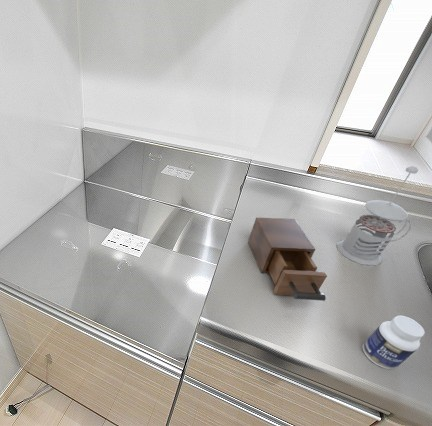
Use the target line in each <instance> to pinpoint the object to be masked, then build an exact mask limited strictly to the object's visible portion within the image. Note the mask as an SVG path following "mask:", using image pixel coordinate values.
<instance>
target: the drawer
mask: <svg viewBox="0 0 432 426" xmlns="http://www.w3.org/2000/svg"><path fill="white" fill-rule="evenodd" d="M267 269H268V271H269V273H270V274H269V275H270V277H271V279H272V282H273V284H274V286H275V287H274V289H273V293H274V295H276V296H277V295H278V296H292V297H293V298H294V299H295V300H304V301H305V300H307V301H320V302H321V301H323V302H324V301H326V295H325V293H322V292H321V291H320V289H321V287H322V285H323V284H324V282H325V280H326V278H327V277H328V275H327V274H326V272H325V271H317V270H318V266H317V265H316V263H315V262H314V260H313V258H312V257H310V255H309V254H308V252H306V251H284V250H274V252H273V254H272V256H271V259H270V261H269V264H268V266H267Z"/></svg>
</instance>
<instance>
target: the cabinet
mask: <svg viewBox="0 0 432 426" xmlns="http://www.w3.org/2000/svg"><path fill="white" fill-rule="evenodd" d="M247 243H248V246H249V248H250V250H251V253H252V255H253V257H254V260H255V263H256V264H257V267H258V269H259V271H260V274H267V275H268V274H269V275H270V273H269V271H268V269H267V266H268V264H269V261H270V259H271V256H272V254H273V252H274V250H284V251H306V252H308V254H309V255H310V257H311V258H312V257H313V255H314V253H315V252H316V248H315V247H314V245H313V243H312V242H311V240H310V239H309V238H308V236H307V235H306V233H305V232H304V230H303V229H302V227H301V226H300V225H299V223H298V221H297V220H296V219H295V218H281V217H255V220H254V223H253V225H252V228H251V232H250V235H249V238H248V240H247Z"/></svg>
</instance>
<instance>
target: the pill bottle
mask: <svg viewBox="0 0 432 426" xmlns="http://www.w3.org/2000/svg"><path fill="white" fill-rule="evenodd" d="M424 336H425V329H424V327H423V326H422V325H421V324H420V323H419V322H417V321H416V320H414V319H413V318H411V317H408V316H405V315H396V316H394V317H393V318H392V319H391V320H386V321H383V322H381V324H380V325H378V327H377V328H375V330H374V331H373V332H372V334H371V335H370V336H369V337H368V338H367V339H366V340H365V341H364V343H363V344H362V350H363V354H365V357H367V359H368V360H370V361H371V362H372V363H373V364H374V365H376V366H378V367H380V368H382V369H385V370H393V369H397V368H398V367H399V366H401V364H402V363H404V361H406V360H407V359H408V358H410V356H411V355H413V354H414V353H415V352H416V351H417V350H418V349H419V348H420V346H421V338H422V337H424Z"/></svg>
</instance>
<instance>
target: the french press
mask: <svg viewBox="0 0 432 426" xmlns="http://www.w3.org/2000/svg"><path fill="white" fill-rule="evenodd" d="M405 172H407V173H408V174H407V176H406V177H405V179H404V180H403V182H402V183H401V185H400V186H399V188H398V190H397V192H396V193H395V194H394V196H393V197H392V199H391V201H390V200H389V201H388V200H383V199H373V200H368V201H366V202H365V204H364V206H365V209H366V211H368V213H370V214H363V215H360V216H359V219H356V221H355V222H354V224H353V225H352V227H351V229H350V230H349V232H348V234H347V236H346V237H345V239H343V240H340V241H338V242H337V244H336V248H337V251H339V253H340V254H341V255H342V256H343V257H345V258H347V259H348V260H349V261H352V262H354V263H357V264H360V265H365V266H377V265H379V264H382V260H383V258H382V256H381V254H382V253H383V251H384V250H385V249H386V247H388V244H389V243H391V242H396V241H398V240H401V239H403V238H404V237H406V236H407V234H409V232H410V231H411V229H412V222H411V220H409V219H408V218H409V213H408V212H407V211H406V210H405V208H403V206H400V205H399V204H396V203H394V202H393V201H394V200H395V199H396V196H397V195H398V193H399V192H400V190H401V189H402V187H404V184H405V183H406V181H407V180H408V178H409V177H410V175H411V174H413V175H415V174H417V173H418V172H419V169H418V167H416V166H413V165H411V166H408V167H406V168H405ZM403 221H405V223H404V225H403V227H402V228H401V229H400V230H399V231H398V232H396V230H397V227H396V225H395V224H394V223H393V222H399V223H403ZM407 224H409V228H408V230H407V231H406V232H405V233H404V234H402V236H400V237H398V238H396V239H393V238H394V236H397V235H398V234H400V233H402V232H403V231H404V229H405V228H406V227H407ZM366 232H367V233H366ZM395 232H396V233H395ZM388 234H389V235H388Z"/></svg>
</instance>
